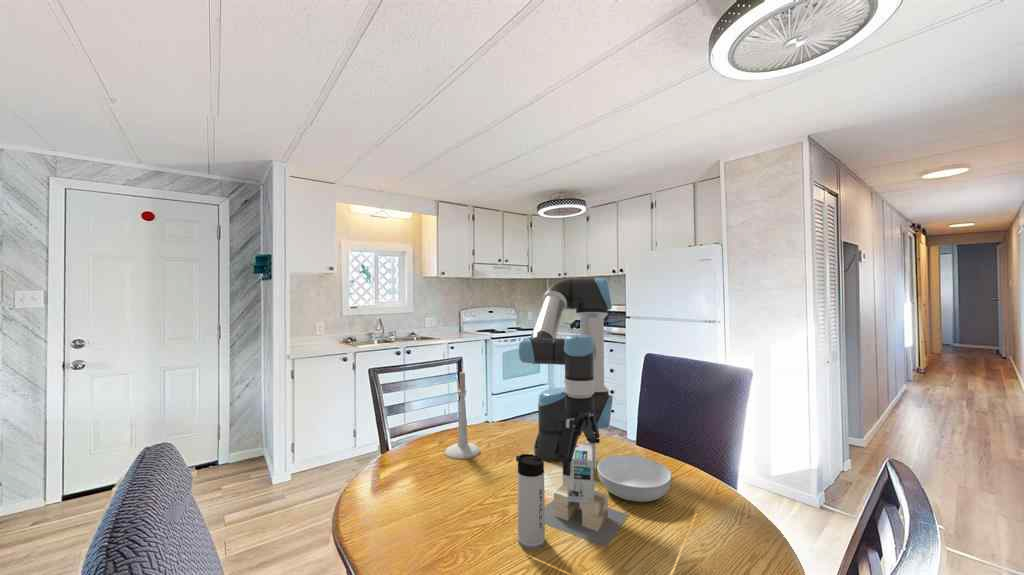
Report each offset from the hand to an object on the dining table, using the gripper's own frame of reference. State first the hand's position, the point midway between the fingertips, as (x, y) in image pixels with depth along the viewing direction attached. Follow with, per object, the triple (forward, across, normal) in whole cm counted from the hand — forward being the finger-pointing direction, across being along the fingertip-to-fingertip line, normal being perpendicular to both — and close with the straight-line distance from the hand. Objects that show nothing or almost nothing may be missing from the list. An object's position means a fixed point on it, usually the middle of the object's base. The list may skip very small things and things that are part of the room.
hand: (580, 476), depth 101 cm
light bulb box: (+4, 0, 0) cm, 5 cm away
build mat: (+11, 0, 0) cm, 11 cm away
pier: (+10, 0, +4) cm, 11 cm away
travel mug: (+11, +16, -5) cm, 20 cm away
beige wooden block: (+10, 0, -4) cm, 11 cm away
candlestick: (+11, -15, -55) cm, 58 cm away
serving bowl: (+11, -21, +7) cm, 25 cm away
